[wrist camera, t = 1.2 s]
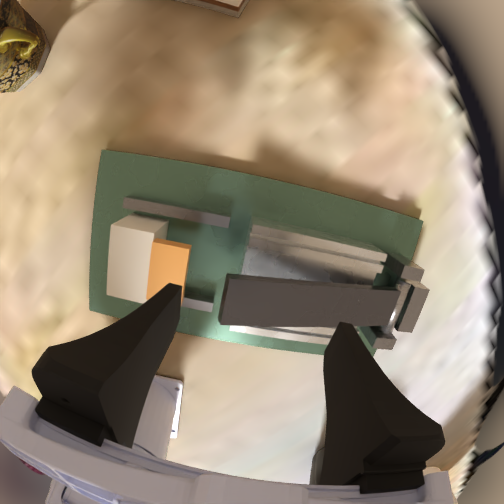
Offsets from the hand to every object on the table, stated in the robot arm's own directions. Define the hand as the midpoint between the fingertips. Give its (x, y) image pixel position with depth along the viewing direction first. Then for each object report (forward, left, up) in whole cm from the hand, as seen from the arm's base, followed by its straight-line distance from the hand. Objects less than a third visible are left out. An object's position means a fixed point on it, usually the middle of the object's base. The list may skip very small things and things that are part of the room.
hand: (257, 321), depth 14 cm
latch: (-1, +7, -11) cm, 13 cm away
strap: (-1, -5, -7) cm, 9 cm away
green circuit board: (-1, -1, -12) cm, 12 cm away
